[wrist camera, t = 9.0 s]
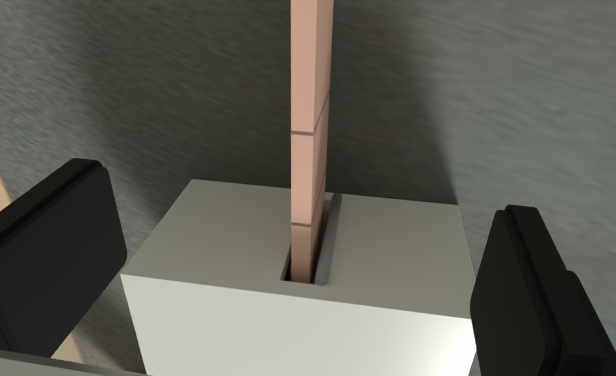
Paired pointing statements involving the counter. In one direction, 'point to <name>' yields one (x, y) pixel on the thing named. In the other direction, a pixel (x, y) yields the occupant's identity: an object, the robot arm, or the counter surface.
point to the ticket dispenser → (302, 288)
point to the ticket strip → (309, 128)
